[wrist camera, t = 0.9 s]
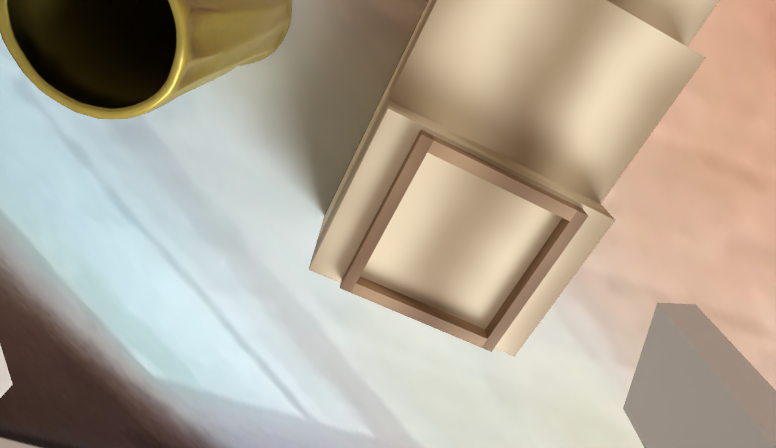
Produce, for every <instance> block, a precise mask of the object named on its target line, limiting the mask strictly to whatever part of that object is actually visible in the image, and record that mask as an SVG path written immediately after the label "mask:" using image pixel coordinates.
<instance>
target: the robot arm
mask: <svg viewBox="0 0 776 448" xmlns="http://www.w3.org/2000/svg"><path fill="white" fill-rule="evenodd" d="M11 385H12V381H11V378H10V375H9V371H8V368H7V365H6V362H5V359H4V355H3V352H2V349H1V346H0V398H1V397H2V395H3V394H4V393H5V392H6V391H7V390H8V389H9V388H10V386H11ZM623 409H624V411H625V412H626V414H627V416H628V418H629V420H630V422H631V423H632V425H633V427H634V429H635V431H636V433H637V434H638V436H639V438H640V440H641V442H642V444H643V445H644V447H645V448H776V390H775V389H774V388H773V387H772V386H771V385H770V384H769V383H768V382H767V381H766V380H765V379H764V378H763V376H762V375H761V374H760V373H759V372H758V371H757V370H756V369H755V368H754V367H753V366H752V365H751V364H750V362H749V361H748V360H747V359H746V358H745V357H744V356H743V355H742V354H741V353H740V352H739V351H738V350H737V349H736V347H735V346H734V345H733V344H732V343H731V342H730V341H729V340H728V339H727V338H726V337H725V336H724V335H723V333H722V332H721V331H720V330H719V329H718V328H717V327H716V326H715V325H714V324H713V323H712V322H711V321H710V319H709V318H708V317H707V316H706V315H705V314H704V313H703V312H702V311H701V310H700V309H699V308H698V307H697V305H695V304H673V303H657V306H656V309H655V312H654V315H653V318H652V321H651V324H650V328H649V331H648V334H647V337H646V340H645V343H644V346H643V349H642V352H641V355H640V358H639V361H638V364H637V368H636V371H635V374H634V377H633V380H632V383H631V386H630V389H629V392H628V395H627V398H626V401H625V404H624V408H623Z"/></svg>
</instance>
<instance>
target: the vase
mask: <svg viewBox="0 0 776 448" xmlns="http://www.w3.org/2000/svg"><path fill="white" fill-rule="evenodd" d="M291 11H292V8H291V0H0V33H1V35H2V38H3V41H4V43H5V45H6V46H7V48H8V50H9V52H10V53H11V55H12V56H13V58H14V60H15V61H16V62H17V64H18V65H19V67H20V68H21V70H22V71H23V73H24V74H25V75H26V76H27V77H28V78H29V79H30V80H31V82H32V83H33V84H34V85H35V86H37V87H38V88H39V89H40V90H41V91H42V92H43V93H45V94H46V95H48V96H49V97H50V98H52V99H54V100H55V101H57V102H58V103H60V104H62V105H63V106H65V107H67V108H69V109H71V110H73V111H75V112H77V113H81V114H84V115H87V116H91V117H94V118H98V119H127V118H131V117H136V116H140V115H142V114H145V113H148V112H150V111H152V110H154V109H157V108H159V107H161V106H163V105H165V104H167V103H168V102H170V101H172V100H173V99H175V98H177V97H178V96H180V95H182V94H184V93H186V92H188V91H190V90H192V89H195V88H197V87H199V86H201V85H203V84H205V83H207V82H209V81H211V80H214V79H216V78H217V77H219V76H222V75H224V74H225V73H227V72H229V71H231V70H232V69H233V68H234V67H236V66H237V65H245V64H250V63H254V62H256V61H259V60H261V59H263V58H265V57H267V56H268V55H270V54H271V53H272V52H274V51H275V50H276V49H277V47H278V46H279V45H280V44H281V42H282V41H283V39H284V37H285V35H286V33H287V30H288V28H289V24H290V20H291Z"/></svg>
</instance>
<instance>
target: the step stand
mask: <svg viewBox="0 0 776 448" xmlns="http://www.w3.org/2000/svg"><path fill="white" fill-rule="evenodd" d="M719 1H720V0H429V1H428V3H427V5H426V7H425V9H424V12H423V14H422V16H421V18H420V20H419V22H418V24H417V26H416V28H415V30H414V32H413V34H412V36H411V38H410V40H409V43H408V45H407V47H406V49H405V51H404V53H403V55H402V57H401V59H400V61H399V63H398V65H397V67H396V69H395V71H394V74H393V76H392V78H391V80H390V82H389V84H388V86H387V88H386V90H385V92H384V94H383V96H382V98H381V100H380V102H379V105H378V107H377V109H376V111H375V113H374V115H373V117H372V119H371V121H370V123H369V125H368V127H367V129H366V131H365V133H364V136H363V138H362V140H361V142H360V144H359V146H358V148H357V150H356V152H355V154H354V156H353V158H352V160H351V162H350V164H349V167H348V169H347V171H346V173H345V175H344V177H343V179H342V181H341V183H340V185H339V187H338V189H337V191H336V193H335V196H334V198H333V200H332V202H331V204H330V206H329V208H328V210H327V212H326V214H325V216H324V219H323V223H322V226H321V230H320V233H319V236H318V240H317V243H316V247H315V250H314V253H313V257H312V260H311V264H310V267H309V270H311V271H313V272H316V273H318V274H320V275H323V276H325V277H328V278H330V279H332V280H335V281H337V282H339V283H341V285H340V288H341V289H343V290H346V291H348V292H351V293H353V294H355V295H358V296H360V297H363V298H365V299H367V300H370V301H372V302H374V303H377V304H379V305H382V306H384V307H386V308H389V309H391V310H393V311H396V312H398V313H401V314H403V315H405V316H408V317H410V318H413V319H415V320H417V321H420V322H422V323H424V324H427V325H429V326H432V327H434V328H436V329H439V330H441V331H443V332H446V333H448V334H451V335H453V336H455V337H458V338H460V339H462V340H465V341H467V342H470V343H472V344H474V345H477V346H479V347H482V348H484V349H486V350H489V351H491V352H492V350H493V349H494V348H496V349H498V350H501V351H503V352H505V353H508V354H510V355H512V356H515V355H516V354H517V352H518V351H519V350H520V348H521V347H522V346H523V344H524V343H525V342H526V340H527V339H528V338H529V336H530V335H531V333H532V332H533V331H534V329H535V328H536V327H537V325H538V324H539V323H540V321H541V320H542V319H543V317H544V316H545V315H546V313H547V312H548V310H549V309H550V308H551V306H552V305H553V304H554V302H555V301H556V300H557V298H558V297H559V296H560V294H561V293H562V292H563V290H564V289H565V288H566V286H567V285H568V283H569V282H570V281H571V279H572V278H573V277H574V275H575V274H576V273H577V271H578V270H579V269H580V267H581V266H582V265H583V263H584V262H585V261H586V259H587V258H588V256H589V255H590V254H591V252H592V251H593V250H594V248H595V247H596V246H597V244H598V243H599V242H600V240H601V239H602V238H603V236H604V235H605V233H606V232H607V231H608V229H609V228H610V227H611V225H612V224H613V223H614V221H615V219H614V218H613V217H612V216H611V215H610V214H609V213H608V212H607V210H606V209H605V208H604V207H603V206H602V205H601V203H602V201H603V200H604V199H605V197H606V196H607V194H608V193H609V192H610V190H611V189H612V187H613V186H614V185H615V183H616V182H617V181H618V179H619V178H620V176H621V175H622V174H623V172H624V171H625V169H626V168H627V167H628V165H629V164H630V162H631V161H632V160H633V158H634V157H635V155H636V154H637V153H638V151H639V150H640V148H641V147H642V146H643V144H644V143H645V141H646V140H647V139H648V137H649V136H650V134H651V133H652V132H653V130H654V129H655V128H656V126H657V125H658V123H659V122H660V121H661V119H662V118H663V116H664V115H665V114H666V112H667V111H668V109H669V108H670V107H671V105H672V104H673V102H674V101H675V100H676V98H677V97H678V95H679V94H680V93H681V91H682V90H683V88H684V87H685V86H686V84H687V83H688V82H689V80H690V79H691V77H692V76H693V75H694V73H695V72H696V70H697V69H698V68H699V66H700V65H701V63H702V62H703V61H704V59H705V58H706V57H704V56H702V55H701V54H699V53H697V52H695V51H694V50H692V49H690V48H689V47H688V45H689V44H690V43H691V41H692V40H693V38H694V37H695V35H696V34H697V33H698V31H699V30H700V28H701V27H702V25H703V24H704V23H705V21H706V20H707V18H708V17H709V15H710V14H711V12H712V11H713V10H714V8H715V7H716V5H717V4H718V2H719Z"/></svg>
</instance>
